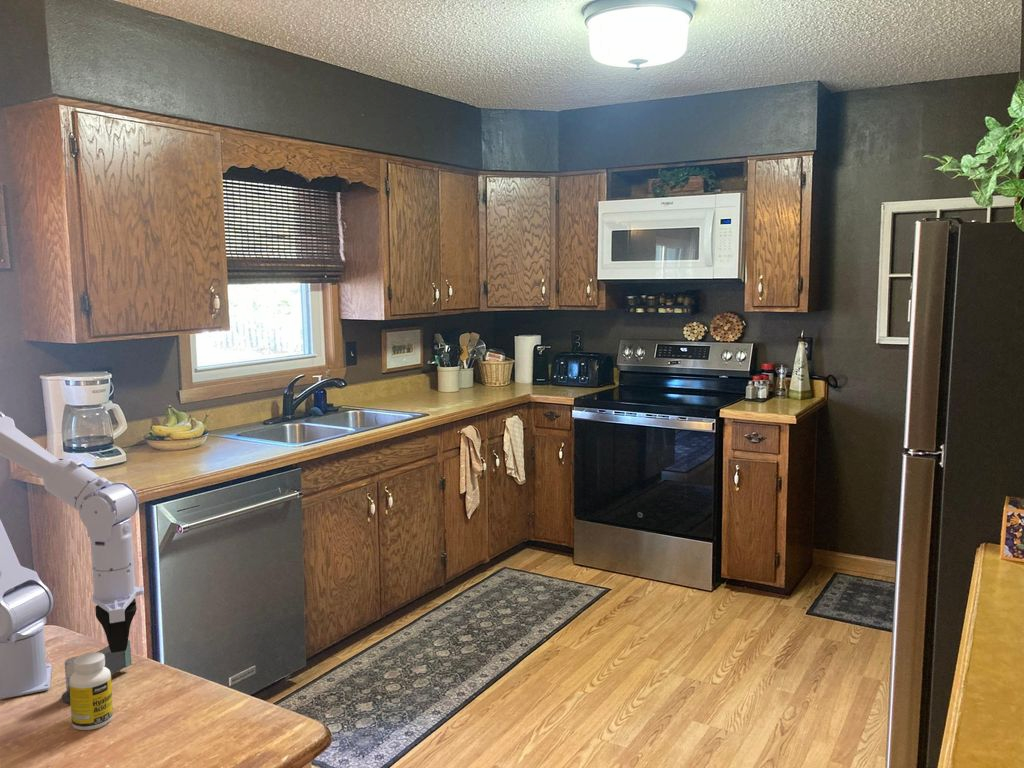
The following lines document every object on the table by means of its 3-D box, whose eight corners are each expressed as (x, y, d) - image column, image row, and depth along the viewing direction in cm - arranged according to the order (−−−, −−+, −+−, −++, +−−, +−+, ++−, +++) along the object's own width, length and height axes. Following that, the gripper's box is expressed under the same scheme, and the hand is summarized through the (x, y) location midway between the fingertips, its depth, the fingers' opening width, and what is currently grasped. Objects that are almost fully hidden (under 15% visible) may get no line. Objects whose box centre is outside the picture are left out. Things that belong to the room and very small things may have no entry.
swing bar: (77, 697, 128) (74, 666, 127) (62, 694, 129) (59, 663, 128) (134, 665, 138) (132, 636, 138) (119, 662, 139) (117, 633, 139)
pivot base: (62, 693, 131) (62, 690, 131) (93, 687, 133) (93, 683, 133) (61, 706, 127) (61, 702, 127) (94, 700, 129) (93, 696, 129)
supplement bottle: (96, 733, 119) (92, 668, 118) (63, 729, 121) (58, 664, 119) (121, 714, 125) (117, 651, 123) (89, 710, 126) (85, 648, 124)
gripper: (145, 575, 123) (150, 664, 125) (139, 547, 136) (144, 627, 137) (91, 583, 120) (97, 674, 121) (90, 553, 132) (96, 635, 134)
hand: (118, 650), depth 129 cm, fingers closed
